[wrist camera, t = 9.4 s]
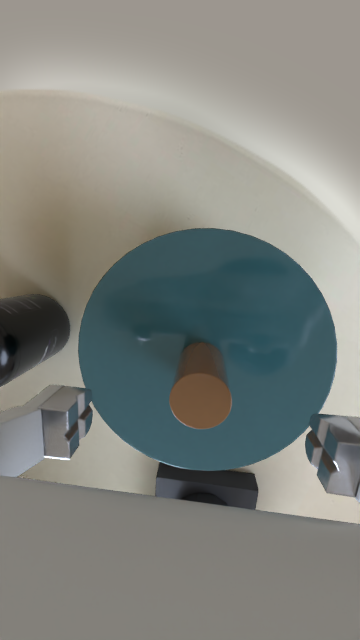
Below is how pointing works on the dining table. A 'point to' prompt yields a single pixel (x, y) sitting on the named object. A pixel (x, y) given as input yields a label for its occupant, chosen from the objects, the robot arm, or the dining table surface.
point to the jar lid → (207, 349)
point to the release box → (207, 486)
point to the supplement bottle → (29, 333)
